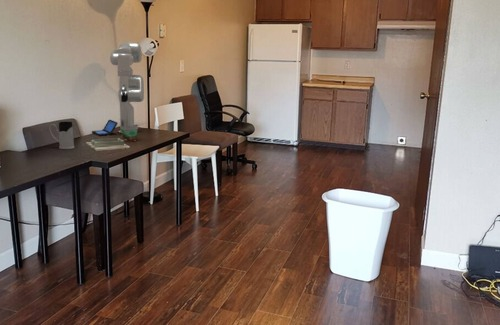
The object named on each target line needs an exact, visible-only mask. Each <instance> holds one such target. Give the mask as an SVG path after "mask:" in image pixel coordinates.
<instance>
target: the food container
mask: <svg viewBox="0 0 500 325" xmlns="http://www.w3.org/2000/svg"><path fill="white" fill-rule="evenodd" d="M121 129H122V140H123V141H124V142H126V141H133V142H135V141H134V140H136V139H138V129H139V125H138V124H134V126H127V127H125V126H122V127H120V130H121Z"/></svg>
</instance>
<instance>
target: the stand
mask: <svg viewBox="0 0 500 325" xmlns="http://www.w3.org/2000/svg"><path fill="white" fill-rule="evenodd" d="M85 144H86V145H87V146H88V147H90V148H91V149H93V150H95V151H96V152H99V151H100V152H101V151H111V150H113V151H114V150H125V148H126V149H130V148H131V146H130V145H128V144H126V143H125V141H123V139H121V138H119V137H112V138H111V137H110V138H101V139H97V138H96V139H91V140H90V142H89V141H88V142H86V143H85Z"/></svg>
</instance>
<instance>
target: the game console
mask: <svg viewBox="0 0 500 325" xmlns="http://www.w3.org/2000/svg"><path fill="white" fill-rule="evenodd" d="M117 125H118V122H117V121H114V120H112V119H108V120H107V123H106V124H105V126H104V127H103V129H102V130H92V131H91V134H93V135H95V134H96V136H97V135H98V137H108V136H107V135H110V136H113V132H114V131H115V129H116V127H117Z"/></svg>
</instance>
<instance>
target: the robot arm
mask: <svg viewBox="0 0 500 325" xmlns="http://www.w3.org/2000/svg"><path fill="white" fill-rule="evenodd" d="M109 59H110V60H109V62H110V63H111V65H113V66H117V77H119V78H118V79H119V81H118V82H119V84H118V87H119V90H118V92H117V94H118V102H119V116H120V117H119V119H120V130H118V132H119V133H118V134H120V133H122V129H121V127H122V126H125V127H127V126H135V108H134V106H133V104H131V103H141V102H143V101H144V99H145V82H144V77H143V76H142V75H141V74H134V71H133V70H134V69H133V68H132V65H133V64H134V63H136V64H138V63H141V61H142V47H141V44H139V42H128V41H126V42H121V44H119V47H118V48H116V49H113V50H111V53H110V56H109Z"/></svg>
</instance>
